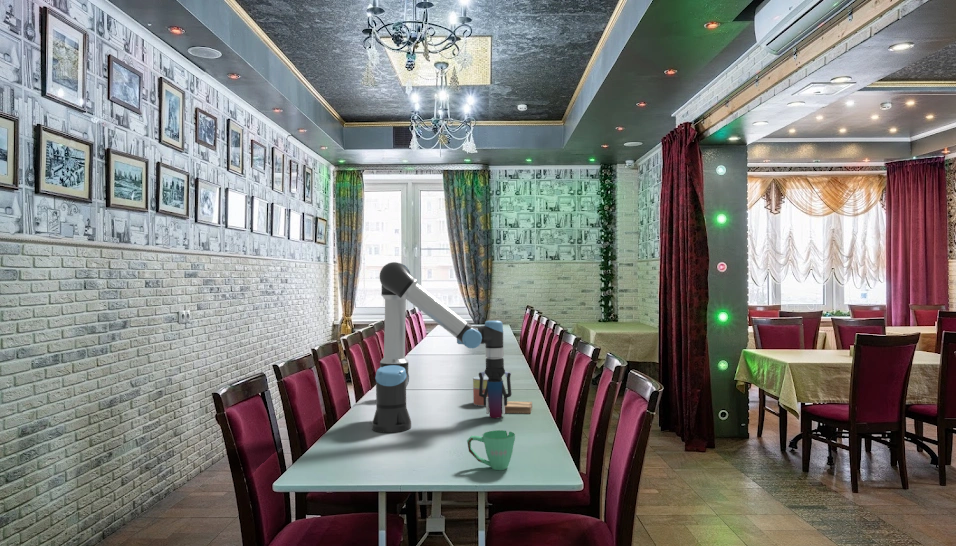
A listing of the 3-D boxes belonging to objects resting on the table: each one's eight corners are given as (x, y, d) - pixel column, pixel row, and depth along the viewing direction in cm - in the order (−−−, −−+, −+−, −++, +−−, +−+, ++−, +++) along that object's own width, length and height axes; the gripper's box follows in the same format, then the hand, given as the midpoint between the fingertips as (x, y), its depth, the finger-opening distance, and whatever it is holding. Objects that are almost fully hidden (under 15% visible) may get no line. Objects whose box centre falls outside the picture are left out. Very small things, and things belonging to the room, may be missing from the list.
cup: (494, 414, 248) (493, 378, 249) (507, 416, 244) (506, 380, 244) (484, 417, 243) (483, 381, 243) (497, 419, 239) (496, 382, 239)
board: (530, 413, 248) (530, 407, 248) (502, 412, 250) (502, 406, 250) (532, 407, 260) (532, 401, 260) (505, 406, 262) (505, 401, 262)
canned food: (496, 406, 264) (495, 379, 264) (471, 405, 266) (471, 379, 266) (499, 401, 275) (498, 375, 275) (475, 400, 277) (475, 375, 277)
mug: (515, 462, 182) (515, 430, 182) (515, 472, 172) (514, 438, 172) (468, 462, 183) (468, 430, 183) (465, 472, 173) (465, 438, 173)
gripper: (518, 356, 246) (519, 411, 246) (473, 356, 249) (474, 411, 249) (516, 359, 239) (517, 415, 238) (470, 358, 242) (471, 415, 241)
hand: (495, 413), depth 244 cm, fingers closed on cup, 6 cm apart
